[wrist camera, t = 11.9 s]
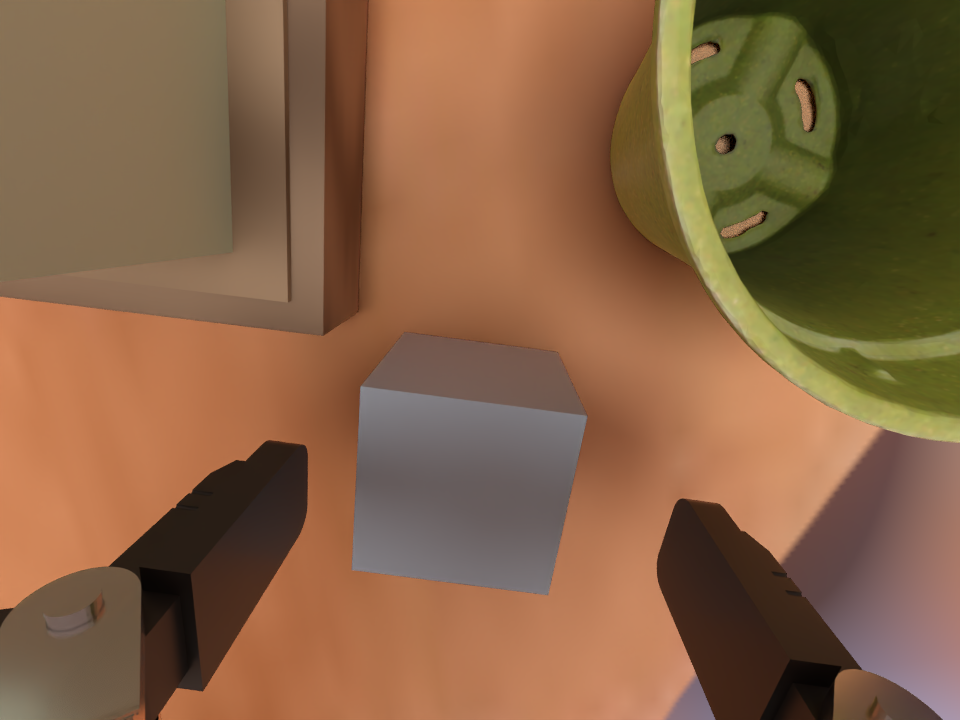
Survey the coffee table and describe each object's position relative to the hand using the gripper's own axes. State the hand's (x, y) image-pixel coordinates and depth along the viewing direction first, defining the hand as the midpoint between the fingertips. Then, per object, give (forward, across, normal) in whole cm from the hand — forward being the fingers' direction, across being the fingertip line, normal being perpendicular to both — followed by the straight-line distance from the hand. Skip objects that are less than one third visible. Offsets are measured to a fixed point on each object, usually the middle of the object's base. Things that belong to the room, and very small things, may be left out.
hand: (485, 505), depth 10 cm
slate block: (+6, +1, 0) cm, 6 cm away
